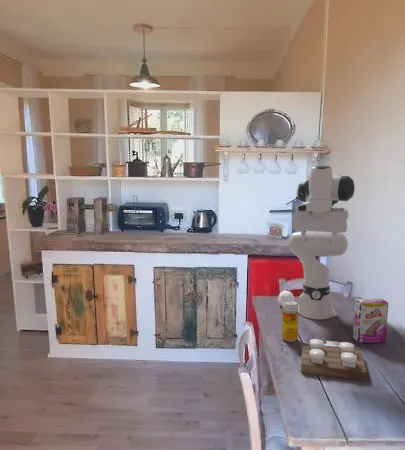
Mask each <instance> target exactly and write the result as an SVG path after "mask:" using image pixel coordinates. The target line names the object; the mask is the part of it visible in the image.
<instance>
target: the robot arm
mask: <svg viewBox="0 0 405 450" xmlns="http://www.w3.org/2000/svg"><path fill="white" fill-rule="evenodd" d="M355 189H356V187H355V181H354V180H353V179H352V177H350V176H349V175H339V174H337V173H334V172H333V169H332V167H331V166H329V165H314V166H312V167H311V168H310V172H309V174H308V176H307V178H305V179H304V180H303V181H301V182H300V183H299V184H298V185H297V188H296V191H295V193H296V197H297V200H298V201H299V202H302V203H303V204H299V205H297V206H295V213H294V214H293V216H292V225H291V226H292V227H291V228H292V229H293V231H295V232H292V233H291V235H290V236H289V237H288V241H287V243H288V244H287V245H288V249H289V250H290V251H291V253H293V254H294V255H295V256H296V257H297V258H298V260H299V261H300V262H301V265H302V268H303V284H302V293H300V295H299V296H298V315H300V316H302V317H304V318H306V319H311V320H327V319H330V318H333V317H334V318H335V317H337V316H338V314H337V312H336V310H335V309H334V298H333V297H332V296H331V295H330V293H331V287H330V269H329V268H328V266H327V265H325V264H324V263H322V262H320V261H319V260H317V258H316V257H317V256H319V257H337V256H342V255H344V254H345V253H346V252H347V250H348V248H349V247H348V244H349V242H348V239H347V237H346V236H345V234H343V233H346V232H347V231H348V222H347V220H348V218H349V211H348V210H347V209H345V208H344V207H334V205H336V204H337V203H338V202H348V201H349V200H350V199H352V198H353V197H354V195H355V191H356V190H355Z"/></svg>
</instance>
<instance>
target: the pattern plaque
mask: <svg viewBox="0 0 405 450" xmlns="http://www.w3.org/2000/svg"><path fill="white" fill-rule="evenodd" d="M321 340H322V341H323V342H324V345H325V346H335V347H339V346H340V343H341V342H342V341H340V342H339V341H332V340H323V339H321Z"/></svg>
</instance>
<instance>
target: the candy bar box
mask: <svg viewBox="0 0 405 450" xmlns="http://www.w3.org/2000/svg"><path fill="white" fill-rule="evenodd" d="M353 312H354V313H353V327H352V328H353V330H352V339H353V340H354V341H355V342H356V343H357V344H382V343H383V344H385V343H386V341H387V326H388V312H389V302H388V301H386V300H385V299H383V298H355V299H354V311H353Z"/></svg>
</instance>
